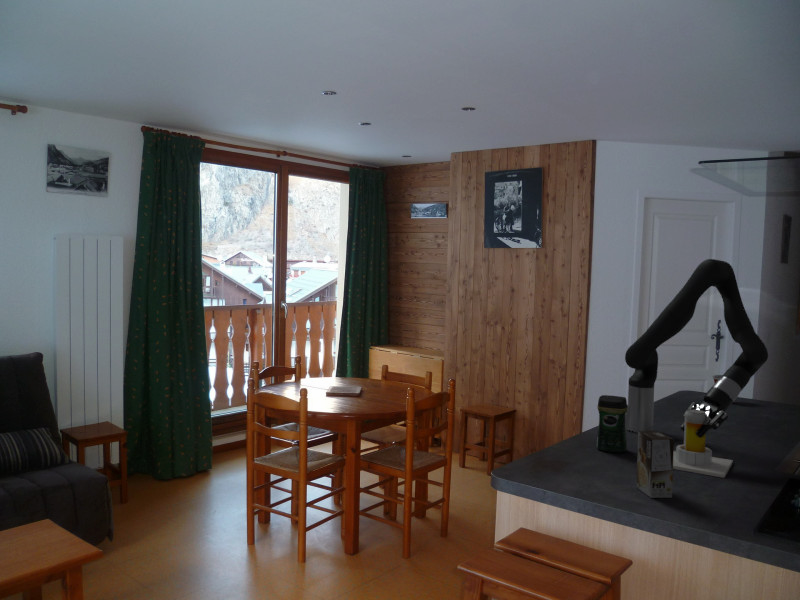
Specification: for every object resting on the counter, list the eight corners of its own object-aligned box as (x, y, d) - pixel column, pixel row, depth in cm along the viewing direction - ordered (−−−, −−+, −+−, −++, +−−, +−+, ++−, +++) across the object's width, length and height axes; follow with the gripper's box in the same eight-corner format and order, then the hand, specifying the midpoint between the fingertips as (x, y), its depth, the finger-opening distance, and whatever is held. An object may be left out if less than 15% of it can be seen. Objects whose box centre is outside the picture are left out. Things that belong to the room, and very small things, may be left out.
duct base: (653, 465, 200) (654, 449, 200) (666, 452, 215) (666, 437, 215) (724, 477, 189) (724, 461, 189) (732, 463, 204) (733, 447, 204)
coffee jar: (628, 449, 219) (629, 395, 218) (624, 454, 212) (625, 399, 211) (599, 445, 224) (600, 392, 223) (594, 450, 217) (595, 396, 216)
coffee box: (673, 498, 171) (675, 438, 171) (650, 498, 171) (652, 439, 170) (656, 486, 181) (658, 430, 180) (635, 487, 180) (636, 430, 179)
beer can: (706, 461, 199) (708, 413, 198) (686, 460, 200) (687, 412, 199) (701, 456, 205) (703, 409, 204) (681, 454, 206) (683, 408, 205)
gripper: (699, 382, 210) (667, 420, 208) (733, 390, 196) (699, 430, 194) (712, 397, 212) (681, 435, 209) (746, 406, 198) (713, 447, 195)
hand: (690, 432), depth 201 cm, fingers open, 6 cm apart
